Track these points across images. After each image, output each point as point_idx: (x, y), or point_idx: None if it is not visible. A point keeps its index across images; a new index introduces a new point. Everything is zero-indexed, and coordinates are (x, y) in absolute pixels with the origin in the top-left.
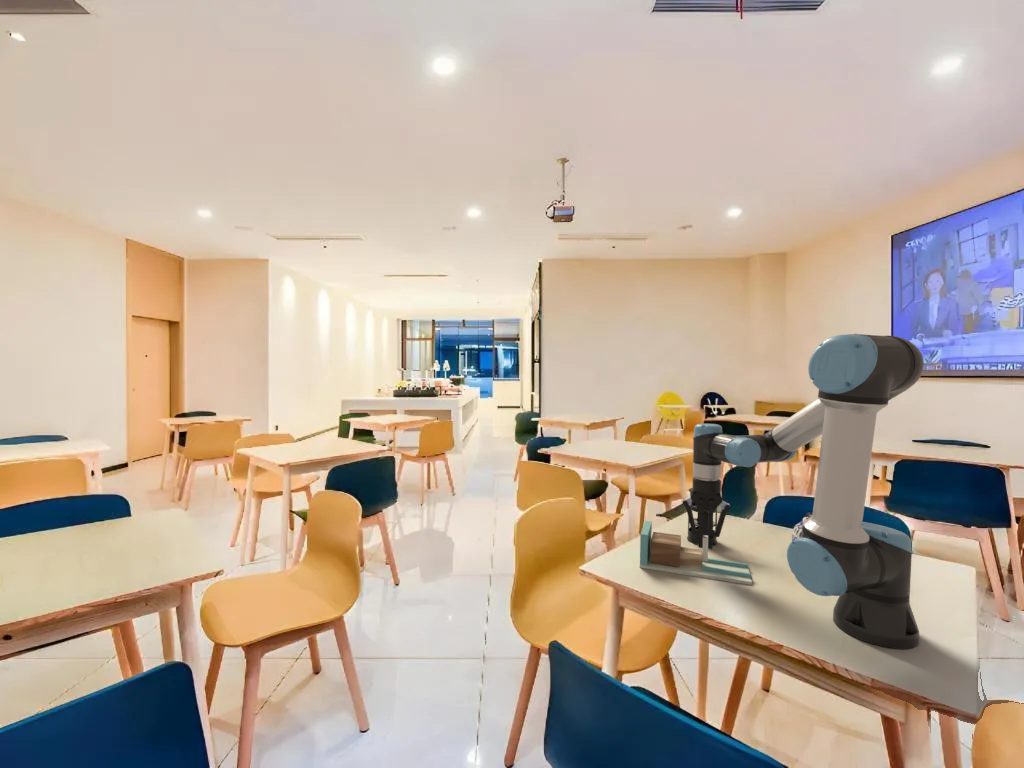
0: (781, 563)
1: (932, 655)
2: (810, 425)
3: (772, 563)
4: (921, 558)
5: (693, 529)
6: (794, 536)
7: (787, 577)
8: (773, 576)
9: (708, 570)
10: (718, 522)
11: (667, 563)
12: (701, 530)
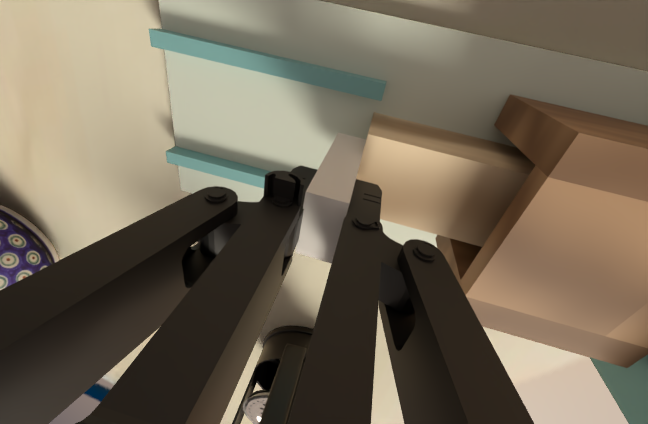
0: (94, 218)
1: None
2: None
3: (117, 216)
4: None
5: (432, 274)
6: None
7: (56, 104)
8: (98, 105)
9: (350, 74)
10: (114, 291)
11: (586, 113)
12: (351, 251)
